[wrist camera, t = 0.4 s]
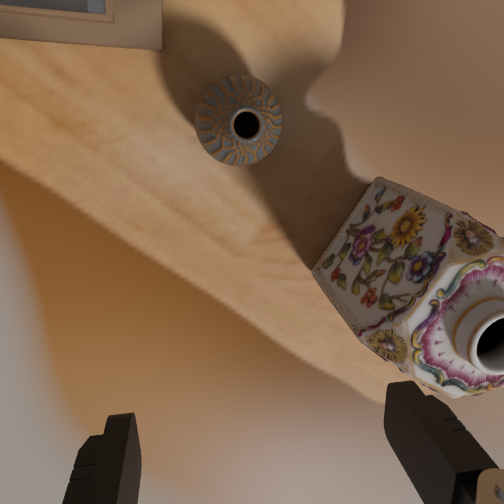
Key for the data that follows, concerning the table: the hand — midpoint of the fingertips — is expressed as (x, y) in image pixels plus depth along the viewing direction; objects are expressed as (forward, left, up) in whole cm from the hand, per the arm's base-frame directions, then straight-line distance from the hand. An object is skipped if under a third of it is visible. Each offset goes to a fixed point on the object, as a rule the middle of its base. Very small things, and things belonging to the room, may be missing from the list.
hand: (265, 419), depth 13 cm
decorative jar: (+4, +17, -28) cm, 34 cm away
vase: (-8, +1, -28) cm, 29 cm away
